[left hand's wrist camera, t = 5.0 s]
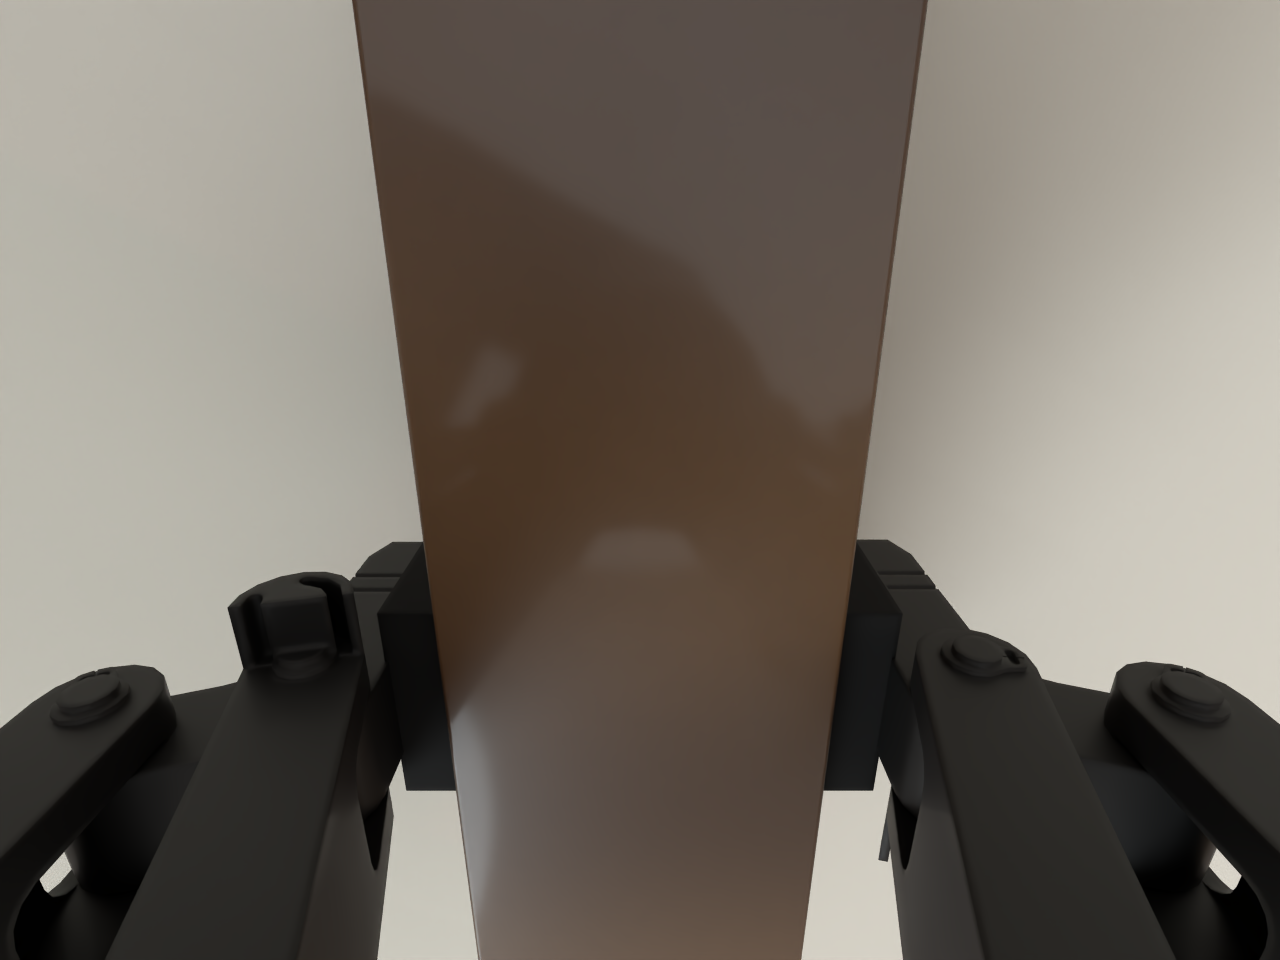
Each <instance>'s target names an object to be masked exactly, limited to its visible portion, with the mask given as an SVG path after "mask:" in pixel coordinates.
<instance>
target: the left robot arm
mask: <svg viewBox="0 0 1280 960" xmlns="http://www.w3.org/2000/svg"><path fill="white" fill-rule="evenodd" d="M228 611H229V615H230V619H231V623H232V627H233V630H234V634H235V638H236V642H237V646H238V650H239V653H240V657H241V661H242V665H243V671H242V673H241V675H240V677H239V679H238V681H237V682H236V683H232V684H228V685H224V686H219V687H214V688H209V689H204V690H199V691H194V692H189V693H184V694H179V695H174V696H170V693H169V690H168V687H167V684H166V680H165V677H164V675H163V674H161V673H160V672H159V671H157V670H156V669H155V668H153V667H146V666H140V665H129V666H119V667H109V668H104V669H99V670H98V671H96V672H95V671H92V672H89V673H86V674H83V675H80V676H78V677H77V678H75V679H73V680H71V681H69V682H66V683H64V684H62V685H60V686H57V687H55V688H54V689H52V690H51V691H49V692H48V693H46V694H45V695H43V696H42V697H40V698H39V699H37V700H35V701H34V702H32V703H31V704H30V705H29V706H27V707H26V708H25V709H24V710H23V711H21V712H20V713H19V714H18V715H16V716H15V717H14V718H13V719H11V720H10V721H9V722H8V723H7V724H5V725H4V726H3V727H2V728H0V960H377V956H378V947H379V939H380V930H381V921H382V913H383V904H384V896H385V887H386V878H387V870H388V861H389V852H390V844H391V835H392V826H393V818H394V815H393V809H392V802H391V797H390V791H389V785H390V783H391V781H392V778H393V776H394V774H395V772H396V769H397V767H398V765H399V762H400V760H401V761H402V767H403V773H404V779H405V785H406V791H456V786H455V778H454V771H453V763H452V755H451V748H450V740H449V733H448V725H447V717H446V710H445V702H444V695H443V687H442V679H441V672H440V664H439V657H438V649H437V641H436V634H435V626H434V619H433V611H432V603H431V596H430V588H429V581H428V573H427V565H426V558H425V550H424V543H423V542H392V543H390V544H389V545H387V546H385V547H384V548H382V549H380V550H379V551H377V552H376V553H374V554H372V555H371V556H369V557H368V558H367V560H366V561H365V562H364V564H363V565H362V566H361V568H360V569H359V570H358V571H357V573H356V577H353V578H352V579H351V580H350V581H349V580H347V579H346V578H345V577H343V576H342V575H338V574H333V573H328V572H303V573H297V574H292V575H287V576H281V577H278V578H275V579H273V580H270V581H267V582H264V583H261V584H259V585H257V586H255V587H253V588H251V589H250V590H248V591H246V592H244V593H243V594H241V595H239V596H238V597H237V598H236V599H235V600H234V602H233V603H232V604H231V605H230V606H229V607H228ZM879 757H880V760H881V762H882V764H883V767H884V769H885V771H886V773H887V776H888V778H889V780H890V783H891V791H890V797H889V802H888V808H887V813H886V819H885V824H884V830H883V835H882V841H881V847H880V853H879V860H881V861H886V862H888V857H889V852H890V851H891V859H892V868H893V877H894V885H895V894H896V902H897V911H898V920H899V928H900V937H901V946H902V954H903V960H1280V724H1279V723H1277V722H1276V721H1275V720H1274V719H1272V718H1271V717H1270V716H1269V715H1267V714H1266V713H1265V712H1264V711H1263V710H1261V709H1260V708H1259V707H1258V706H1256V705H1255V704H1254V703H1253V702H1251V701H1250V700H1249V699H1247V698H1246V697H1244V696H1243V695H1241V694H1240V693H1238V692H1237V691H1235V690H1234V689H1232V688H1230V687H1229V686H1227V685H1226V684H1224V683H1222V682H1219V681H1217V680H1215V679H1213V678H1210V677H1208V676H1206V675H1205V674H1203V673H1201V672H1199V671H1196V670H1193V669H1190V668H1187V667H1186V669H1185V668H1183V666H1178V665H1173V664H1163V663H1154V662H1140V663H1133V664H1127V665H1125V666H1124V667H1123V668H1121V669H1120V670H1119V671H1118V672H1116V676H1115V679H1114V682H1113V685H1112V688H1111V691H1110V693H1107V692H1101V691H1096V690H1091V689H1086V688H1081V687H1076V686H1071V685H1066V684H1061V683H1056V682H1052V681H1048V680H1044V679H1042V678H1041V676H1040V674H1039V672H1038V670H1037V668H1036V667H1035V665H1034V664H1033V663H1032V662H1031V660H1030V659H1029V658H1028V657H1027V655H1026V654H1024V653H1023V652H1022V651H1020V650H1019V649H1017V648H1016V647H1014V646H1013V645H1011V644H1010V643H1008V642H1006V641H1003V640H1001V639H999V638H996V637H994V636H991V635H989V634H987V633H982V632H977V631H973V630H970V629H969V628H968V627H967V625H966V624H965V623H964V622H963V620H962V619H961V618H960V616H959V615H958V614H957V613H956V611H955V610H954V609H953V607H952V606H951V605H950V604H949V602H948V601H947V600H946V598H945V597H944V596H943V595H942V593H941V592H940V591H939V590H938V589H936V588H935V584H934V583H933V582H932V581H931V579H930V578H929V577H928V575H925V574H924V570H923V569H922V568H921V566H920V565H919V564H918V563H917V561H916V560H915V559H914V557H913V556H912V555H911V554H910V553H908V552H906V551H905V550H903V549H902V548H900V547H898V546H897V545H895V544H893V543H892V542H890V541H889V540H857V541H856V548H855V556H854V564H853V571H852V579H851V586H850V594H849V601H848V609H847V617H846V624H845V632H844V639H843V647H842V654H841V662H840V669H839V677H838V685H837V692H836V700H835V707H834V715H833V722H832V730H831V737H830V745H829V753H828V760H827V768H826V775H825V783H824V790H823V791H873V789H874V783H875V777H876V771H877V765H878V759H879ZM1216 848H1217V849H1218V850H1219V851H1220V852H1221V853H1222V854H1223V856H1224V857H1225V858H1226V859H1227V860H1228V861H1229V862H1230V863H1231V864H1232V865H1233V867H1234V868H1235V869H1236V870H1237V871H1238V872H1239V873H1240V874H1241V875H1242V876H1241V878H1240V881H1239V883H1238V885H1237V887H1236V888H1235V889H1234V890H1231V889H1230V888H1229V887H1228V886H1227V885H1226V884H1224V883H1223V882H1222V881H1221V880H1220V879H1219V878H1218V877H1217V875H1216V874H1215V873H1214V872H1213V871H1212V870H1211V868H1210V867H1209V865H1210V862H1211V860H1212V858H1213V855H1214V853H1215V851H1216ZM63 852H65V854H66V857H67V859H68V861H69V864H70V866H71V868H72V870H71V871H70V872H69V873H68V874H67V876H66V877H65V878H64V879H63V880H62V881H61V883H59V884H58V885H57V886H56V887H55V888H53V889H52V890H51V891H50V892H49V893H47V892H46V891H45V890H44V888H43V886H42V884H41V882H40V880H39V879H40V878H41V877H42V876H43V875H44V874H45V873H46V871H47V870H48V869H49V868H50V867H51V866H52V865H53V864H54V862H55V861H56V860H57V859H58V858H59V857H60V856H61V855H62V854H63Z"/></svg>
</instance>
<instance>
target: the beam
mask: <svg viewBox="0 0 1280 960" xmlns="http://www.w3.org/2000/svg"><path fill="white" fill-rule="evenodd" d="M352 4H353V11H354V19H355V26H356V34H357V41H358V49H359V57H360V64H361V72H362V79H363V87H364V95H365V102H366V110H367V117H368V125H369V133H370V140H371V148H372V155H373V163H374V171H375V178H376V186H377V193H378V201H379V209H380V216H381V224H382V231H383V239H384V247H385V254H386V262H387V269H388V277H389V285H390V292H391V300H392V307H393V315H394V322H395V330H396V338H397V345H398V353H399V360H400V368H401V376H402V383H403V391H404V398H405V406H406V414H407V421H408V429H409V436H410V444H411V452H412V459H413V467H414V474H415V482H416V490H417V497H418V505H419V512H420V520H421V528H422V535H423V543H424V550H425V558H426V565H427V573H428V581H429V588H430V596H431V603H432V611H433V619H434V626H435V634H436V641H437V649H438V657H439V664H440V672H441V679H442V687H443V695H444V702H445V710H446V717H447V725H448V733H449V740H450V748H451V755H452V763H453V771H454V778H455V786H456V793H457V801H458V808H459V816H460V824H461V831H462V839H463V846H464V854H465V862H466V869H467V877H468V884H469V892H470V900H471V907H472V915H473V922H474V930H475V938H476V945H477V953H478V960H801V957H802V949H803V942H804V934H805V927H806V919H807V911H808V904H809V896H810V889H811V881H812V874H813V866H814V858H815V851H816V843H817V836H818V828H819V821H820V813H821V806H822V798H823V790H824V783H825V775H826V768H827V760H828V753H829V745H830V737H831V730H832V722H833V715H834V707H835V700H836V692H837V685H838V677H839V669H840V662H841V654H842V647H843V639H844V632H845V624H846V617H847V609H848V601H849V594H850V586H851V579H852V571H853V564H854V556H855V548H856V541H857V533H858V526H859V518H860V511H861V503H862V496H863V488H864V480H865V473H866V465H867V458H868V450H869V443H870V435H871V427H872V420H873V412H874V405H875V397H876V390H877V382H878V375H879V367H880V359H881V352H882V344H883V337H884V329H885V322H886V314H887V306H888V299H889V291H890V284H891V276H892V269H893V261H894V254H895V246H896V238H897V231H898V223H899V216H900V208H901V201H902V193H903V185H904V178H905V170H906V163H907V155H908V148H909V140H910V133H911V125H912V117H913V110H914V102H915V95H916V87H917V80H918V72H919V65H920V57H921V49H922V42H923V34H924V27H925V19H926V12H927V4H928V0H352Z"/></svg>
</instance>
